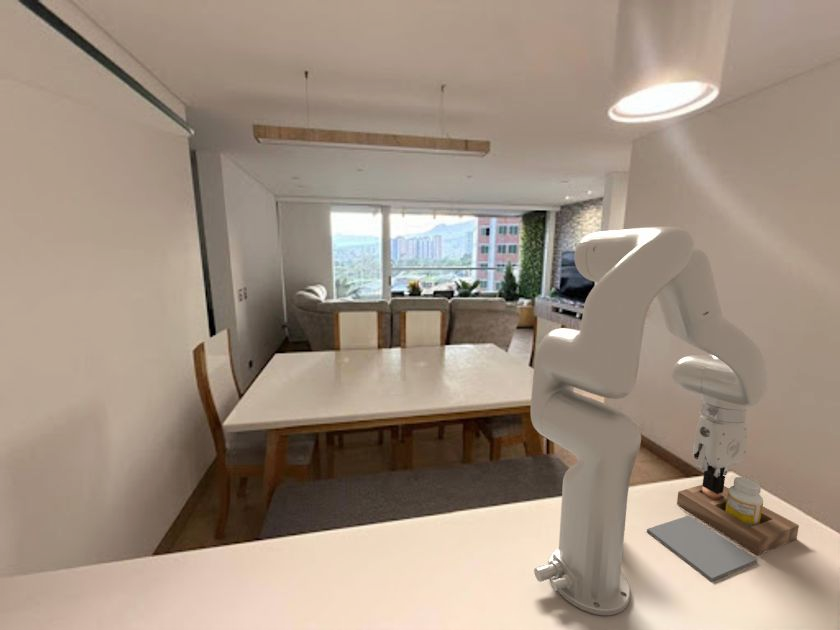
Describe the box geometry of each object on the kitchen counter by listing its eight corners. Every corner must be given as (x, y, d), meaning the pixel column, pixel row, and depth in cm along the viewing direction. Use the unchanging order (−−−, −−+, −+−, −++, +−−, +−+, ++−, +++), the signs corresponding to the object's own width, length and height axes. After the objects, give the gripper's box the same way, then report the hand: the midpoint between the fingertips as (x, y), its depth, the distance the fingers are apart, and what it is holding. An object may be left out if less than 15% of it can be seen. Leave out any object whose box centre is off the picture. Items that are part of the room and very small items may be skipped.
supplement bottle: (741, 536, 71) (748, 491, 70) (717, 517, 76) (722, 475, 75) (766, 533, 72) (773, 490, 70) (740, 515, 77) (746, 474, 75)
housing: (757, 555, 66) (759, 540, 66) (676, 503, 80) (678, 491, 80) (796, 538, 70) (798, 525, 70) (713, 492, 84) (714, 480, 84)
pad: (711, 581, 61) (711, 578, 61) (646, 531, 72) (647, 528, 72) (756, 562, 65) (757, 559, 65) (688, 517, 76) (689, 515, 76)
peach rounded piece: (712, 512, 78) (714, 495, 77) (697, 503, 81) (699, 487, 80) (722, 509, 79) (724, 492, 78) (706, 500, 82) (708, 484, 81)
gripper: (718, 424, 70) (707, 508, 73) (766, 413, 75) (754, 492, 78) (679, 409, 77) (671, 486, 80) (726, 400, 82) (716, 473, 85)
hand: (712, 489), depth 79 cm, fingers closed
